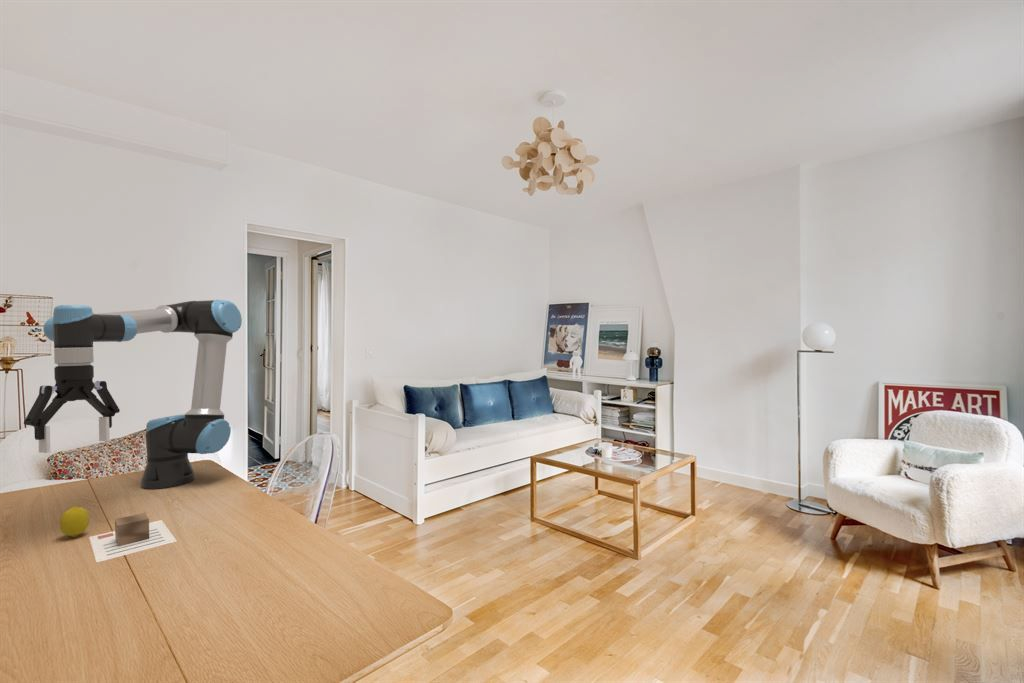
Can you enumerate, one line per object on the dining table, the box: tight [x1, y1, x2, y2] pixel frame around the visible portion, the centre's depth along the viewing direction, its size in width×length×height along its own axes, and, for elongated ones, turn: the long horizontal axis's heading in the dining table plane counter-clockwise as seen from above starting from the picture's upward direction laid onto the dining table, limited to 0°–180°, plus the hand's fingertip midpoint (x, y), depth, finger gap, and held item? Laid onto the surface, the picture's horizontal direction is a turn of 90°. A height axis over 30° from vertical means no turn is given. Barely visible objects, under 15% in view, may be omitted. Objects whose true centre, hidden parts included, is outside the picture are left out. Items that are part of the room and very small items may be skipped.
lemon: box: [59, 505, 90, 538], centre depth 121 cm, size 6×6×8 cm
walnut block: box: [114, 512, 150, 546], centre depth 119 cm, size 6×6×5 cm
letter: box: [89, 519, 177, 563], centre depth 119 cm, size 15×20×1 cm
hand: (76, 446), depth 124 cm, fingers open, 13 cm apart
